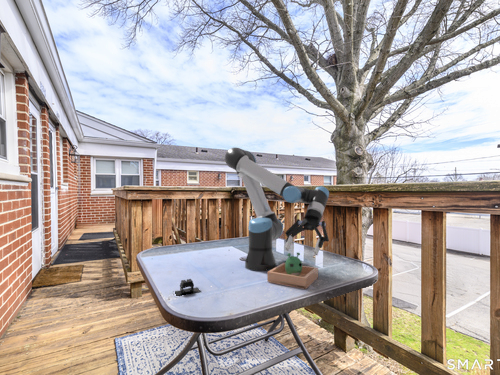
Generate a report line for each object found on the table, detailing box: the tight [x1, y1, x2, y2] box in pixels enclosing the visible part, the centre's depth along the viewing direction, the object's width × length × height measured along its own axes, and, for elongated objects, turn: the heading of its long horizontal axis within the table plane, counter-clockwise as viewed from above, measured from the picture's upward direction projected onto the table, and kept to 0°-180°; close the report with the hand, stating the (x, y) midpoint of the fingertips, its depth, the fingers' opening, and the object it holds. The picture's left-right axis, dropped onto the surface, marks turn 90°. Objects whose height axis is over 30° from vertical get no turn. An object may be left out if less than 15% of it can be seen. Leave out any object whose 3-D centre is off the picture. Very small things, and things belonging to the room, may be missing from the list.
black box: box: [175, 278, 202, 297], centre depth 91 cm, size 12×7×5 cm, turn 119°
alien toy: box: [284, 252, 303, 276], centre depth 104 cm, size 7×8×10 cm
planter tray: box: [266, 262, 319, 290], centre depth 104 cm, size 16×16×4 cm
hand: (300, 251), depth 108 cm, fingers open, 13 cm apart
